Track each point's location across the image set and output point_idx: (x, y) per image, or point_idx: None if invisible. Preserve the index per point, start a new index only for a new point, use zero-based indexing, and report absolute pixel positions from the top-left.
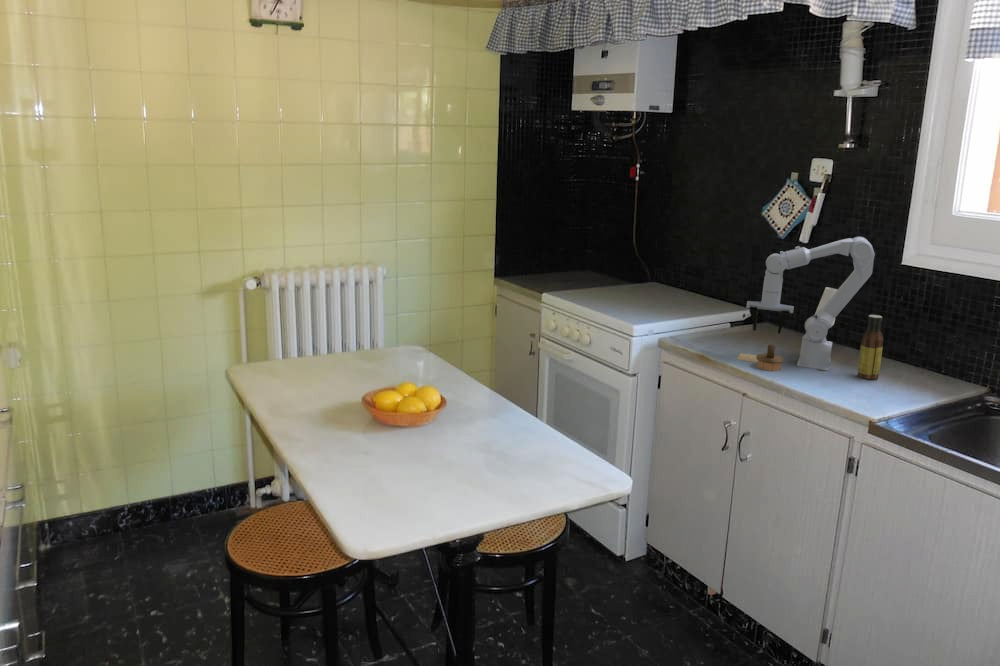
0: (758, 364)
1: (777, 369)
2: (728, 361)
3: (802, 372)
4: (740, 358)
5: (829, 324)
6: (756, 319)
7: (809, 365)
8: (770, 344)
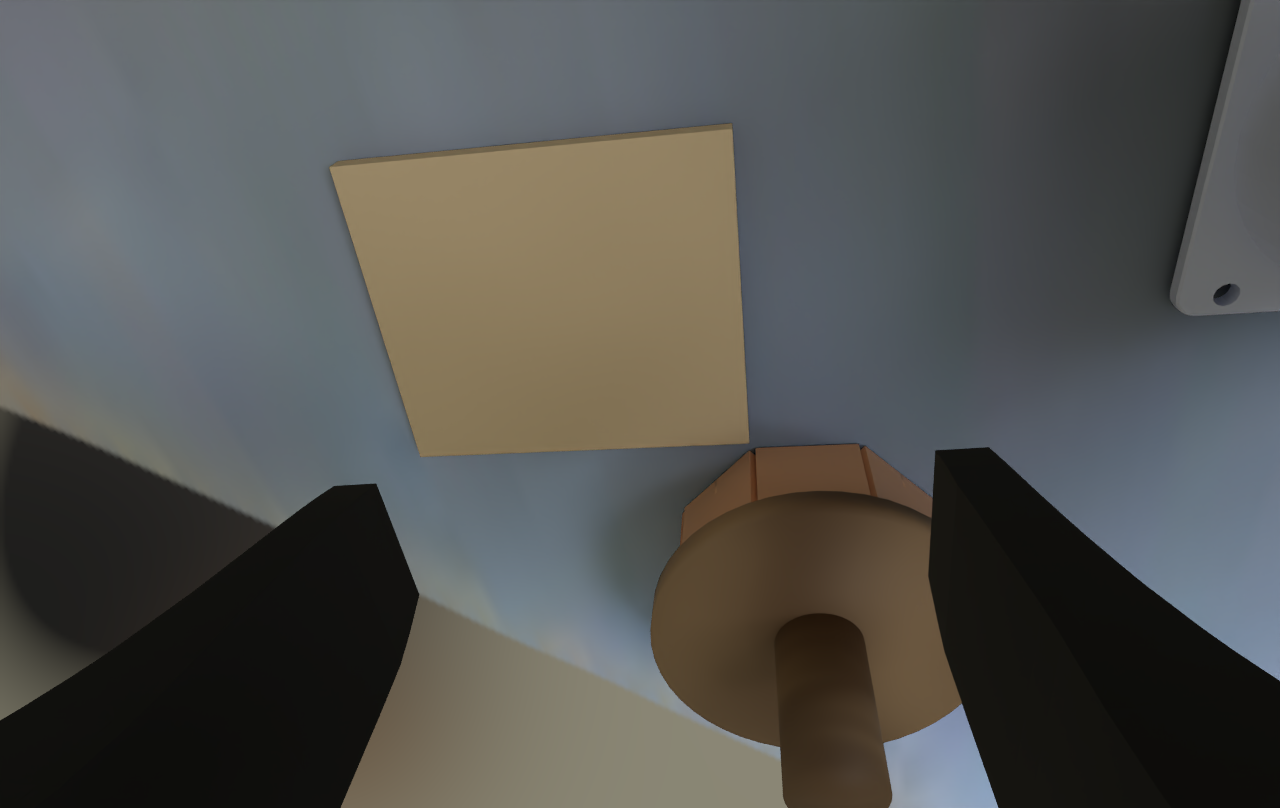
0: None
1: None
2: None
3: (1202, 486)
4: (437, 408)
5: None
6: (255, 772)
7: None
8: (814, 769)
